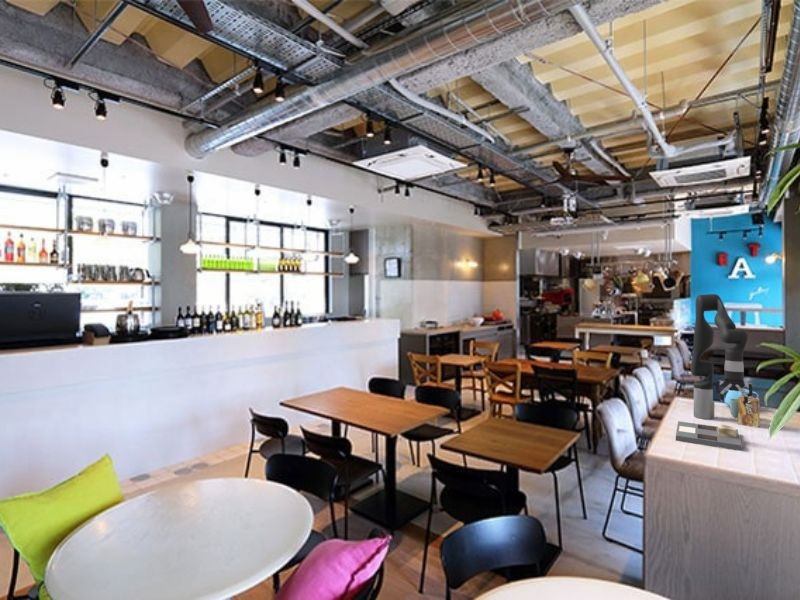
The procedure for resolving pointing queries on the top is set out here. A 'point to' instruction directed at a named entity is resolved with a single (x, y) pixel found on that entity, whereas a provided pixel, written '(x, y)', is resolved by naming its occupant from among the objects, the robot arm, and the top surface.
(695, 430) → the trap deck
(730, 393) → the decorative pot
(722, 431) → the maple block
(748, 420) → the candy box
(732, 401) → the cup
